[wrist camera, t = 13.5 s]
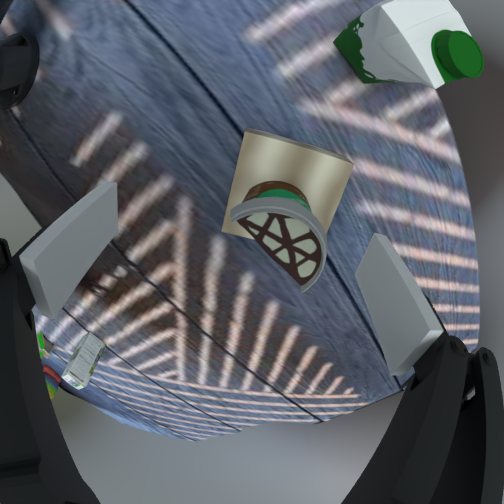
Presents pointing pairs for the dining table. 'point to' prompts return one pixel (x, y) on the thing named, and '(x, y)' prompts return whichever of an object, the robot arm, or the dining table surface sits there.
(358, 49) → the milk carton
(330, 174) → the birch riser block
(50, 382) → the stacking bear
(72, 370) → the syrup box
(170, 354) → the dining table surface
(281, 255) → the food container
